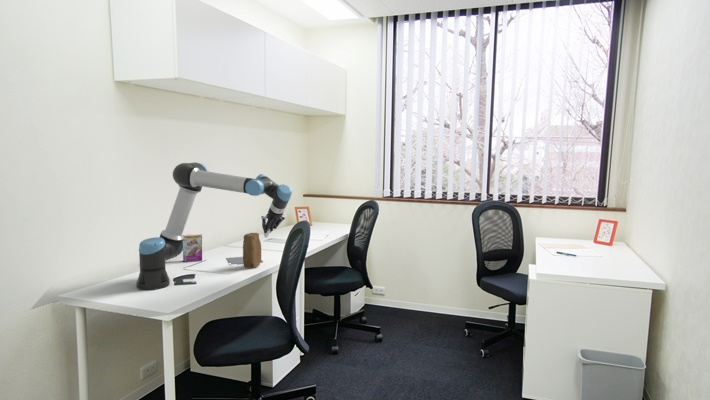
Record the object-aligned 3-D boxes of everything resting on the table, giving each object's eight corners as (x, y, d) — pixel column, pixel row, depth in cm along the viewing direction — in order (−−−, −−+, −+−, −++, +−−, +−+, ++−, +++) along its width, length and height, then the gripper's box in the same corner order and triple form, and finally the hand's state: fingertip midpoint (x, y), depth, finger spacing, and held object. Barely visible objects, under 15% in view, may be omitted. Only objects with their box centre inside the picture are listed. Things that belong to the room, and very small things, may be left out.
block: (252, 269, 252) (251, 235, 250) (241, 267, 255) (241, 234, 253) (263, 265, 262) (263, 232, 260) (253, 263, 265) (252, 231, 263)
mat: (230, 265, 261) (230, 264, 261) (226, 258, 278) (226, 257, 278) (263, 262, 269) (263, 261, 269) (257, 256, 286) (257, 255, 286)
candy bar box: (183, 262, 266) (182, 235, 265) (183, 260, 271) (182, 234, 269) (202, 260, 271) (202, 234, 269) (202, 259, 275) (201, 233, 274)
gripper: (267, 215, 219) (255, 242, 235) (290, 213, 226) (278, 240, 242) (263, 203, 223) (252, 231, 238) (286, 202, 230) (274, 229, 246)
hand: (265, 235), depth 240 cm, fingers closed
